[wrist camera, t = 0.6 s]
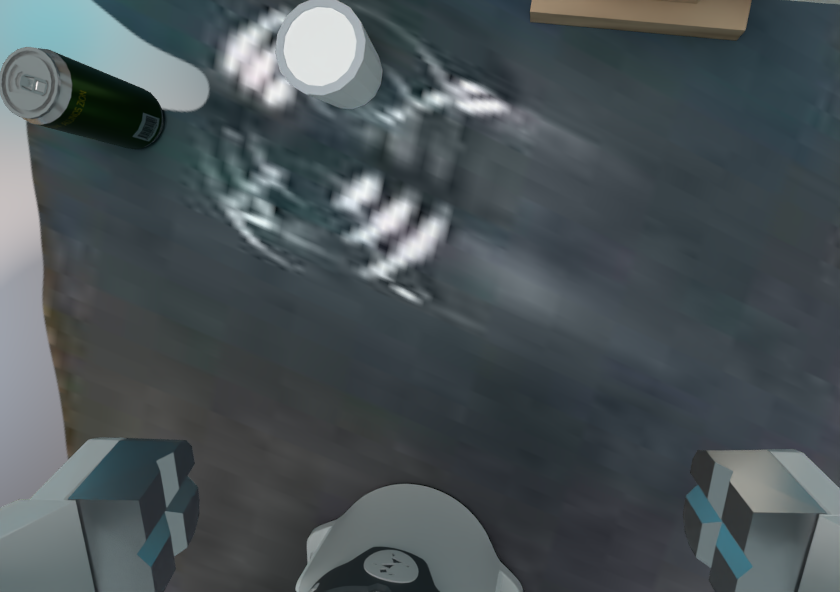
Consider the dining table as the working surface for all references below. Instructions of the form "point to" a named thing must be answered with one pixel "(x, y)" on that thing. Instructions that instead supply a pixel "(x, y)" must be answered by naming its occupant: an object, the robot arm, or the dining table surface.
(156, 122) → the beer can
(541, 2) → the wooden post with base
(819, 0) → the white block with handle
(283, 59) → the white cylinder
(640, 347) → the dining table surface
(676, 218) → the dining table surface
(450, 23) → the dining table surface
